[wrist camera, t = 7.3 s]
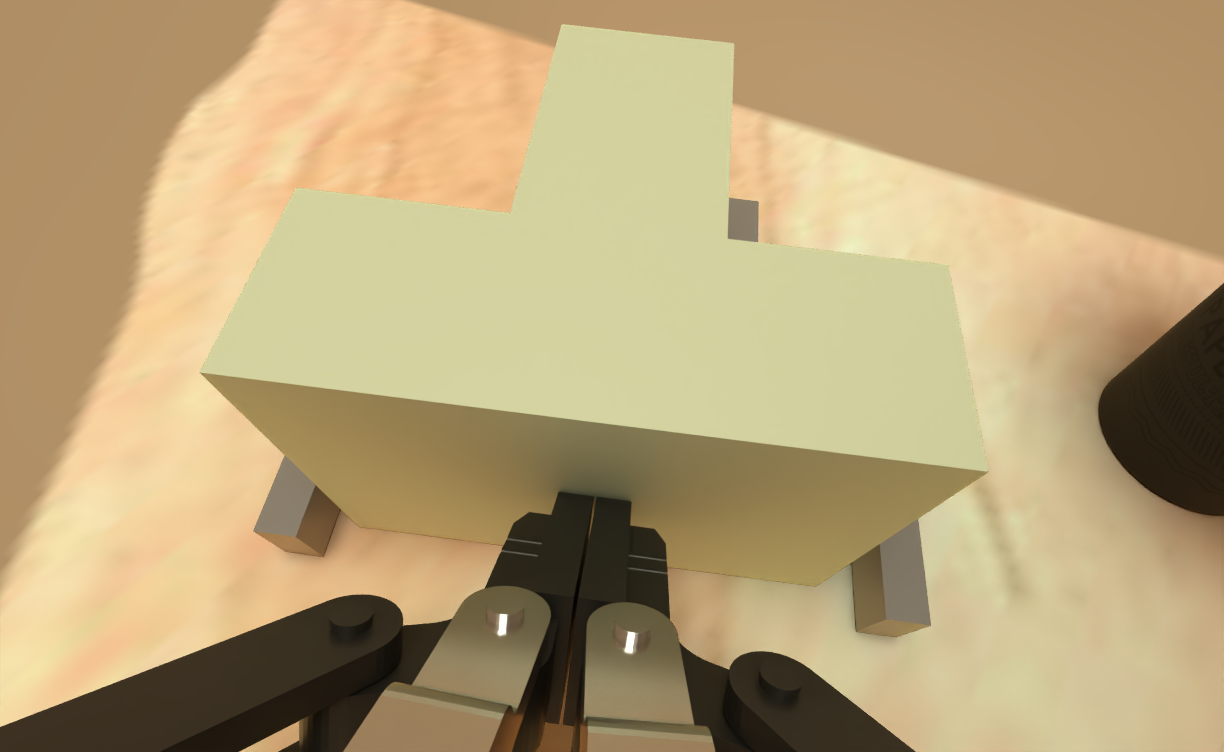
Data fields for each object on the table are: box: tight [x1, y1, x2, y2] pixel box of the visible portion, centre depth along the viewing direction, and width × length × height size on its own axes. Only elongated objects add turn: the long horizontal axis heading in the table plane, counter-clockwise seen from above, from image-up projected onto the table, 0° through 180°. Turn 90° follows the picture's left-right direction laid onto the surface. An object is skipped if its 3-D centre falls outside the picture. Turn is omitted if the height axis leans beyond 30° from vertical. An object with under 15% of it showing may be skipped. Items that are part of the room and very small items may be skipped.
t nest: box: [253, 198, 931, 637], centre depth 18 cm, size 16×13×2 cm
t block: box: [200, 24, 989, 586], centre depth 15 cm, size 12×10×8 cm
